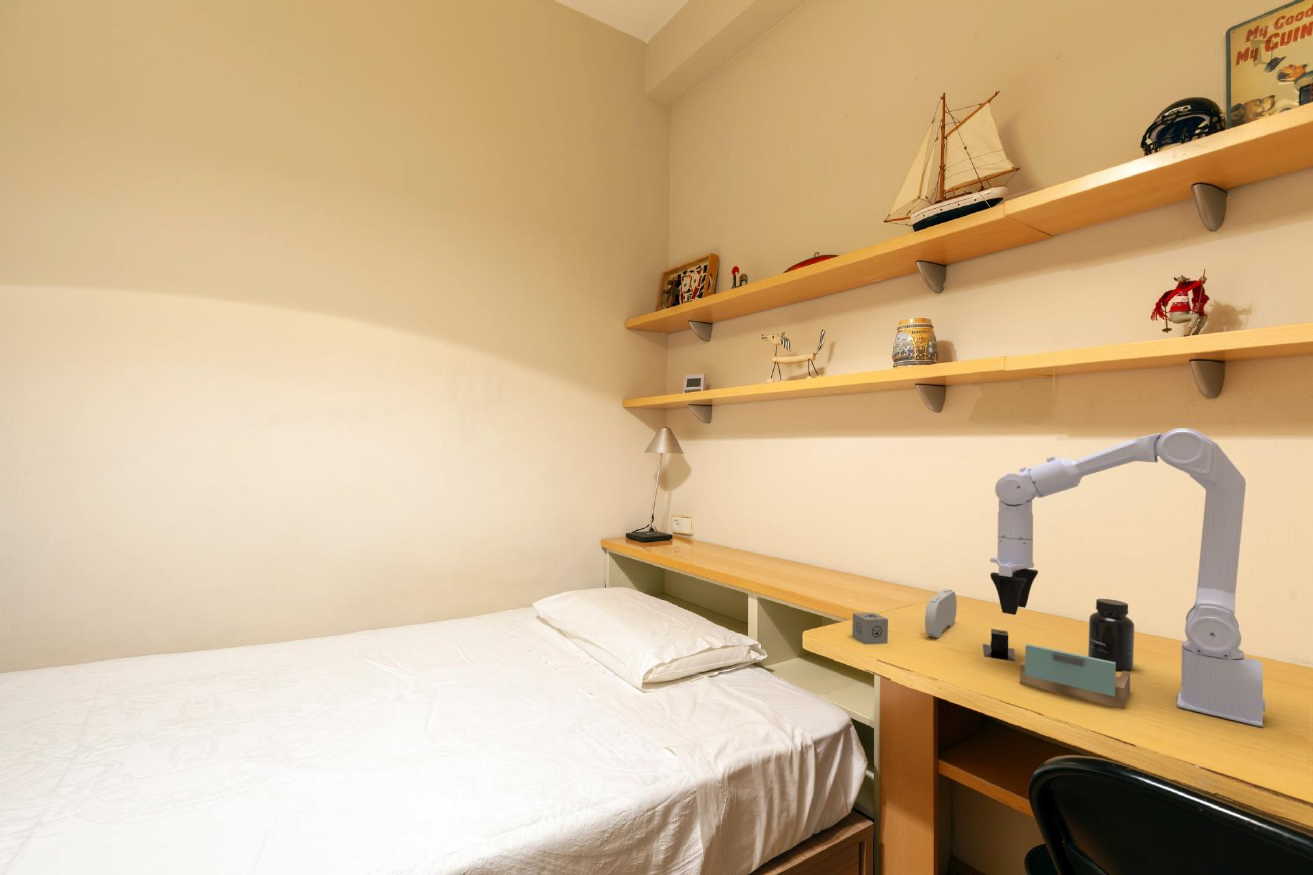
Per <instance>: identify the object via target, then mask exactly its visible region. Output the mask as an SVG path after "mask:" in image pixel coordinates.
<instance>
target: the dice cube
mask: <svg viewBox="0 0 1313 875" xmlns="http://www.w3.org/2000/svg"><path fill="white" fill-rule="evenodd" d="M888 626H889V619H888V618H886V617H884V616H882V615H881V614H878V613H876V612H853V613H852V626H851V627H852V632H851V633H852V635H851V637H852V638H854V639H856V640H857V641H859V642H860V643H862V644H864V645H880V644H881V645H883V644H888V643H889V642H888V640H889V638H888V637H889V635H888V634H889V627H888Z"/></svg>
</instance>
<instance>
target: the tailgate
mask: <svg viewBox="0 0 1313 875" xmlns="http://www.w3.org/2000/svg"><path fill="white" fill-rule="evenodd" d="M1024 654H1025V658H1024V660H1025V675H1027V676H1031V677H1035V678H1039V679H1043V680H1047V681H1052V682H1056V683H1060V684H1064V685H1068V686H1072V687H1077V688H1081V689H1085V690H1089V691H1093V692H1097V693H1102V694H1106V695H1110V696H1114V697H1115V677H1117V676H1116V671H1117V670H1116V662H1111V661H1106V660H1101V659H1097V658H1092V657H1088V656H1087V655H1082V654H1077V653H1072V652H1066V651H1061V650H1058V649H1053V648H1047V647H1044V646H1039V645H1035V644H1030V643H1029V644H1028V643H1027V644H1025V653H1024Z"/></svg>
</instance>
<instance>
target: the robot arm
mask: <svg viewBox="0 0 1313 875" xmlns="http://www.w3.org/2000/svg"><path fill="white" fill-rule="evenodd" d="M1158 457H1159V458H1160V459H1161V461H1163V462H1164V463H1165V464H1167V465H1168V466H1171V467H1172V468H1175V469H1177V470H1179V471H1181V472H1184V473H1186V474H1188V475H1189V477H1190V478H1191V479H1193V480H1194V481H1195V482H1197V484H1198V485H1200V486H1201V487H1203V489H1204V490H1205V498H1204V499H1205V500H1204V510H1203V518H1202V519H1203V520H1202V530H1201V539H1200V540H1201V541H1200V552H1199V562H1198V574H1197V582H1196V584H1197V585H1196V592H1195V593H1196V594H1195V602H1194V604H1193V606H1192V607H1191V608H1190V609H1189V610H1188V612H1187V614H1186V616H1185V621H1186V622H1185V626H1184V633H1185V637H1186V639H1187V640H1184V641H1182V642H1181V665H1180V666H1181V680H1180V681H1181V682H1180V683H1181V684H1180V686H1181V688H1180V690H1179V691H1178V695H1177V701H1176V702H1177V703H1176V706H1177V707H1178V708H1180V709H1184V710H1185V709H1186V710H1189V711H1193V712H1198V713H1201V714H1205V715H1210V716H1215V717H1219V718H1222V719H1227V720H1232V721H1235V722H1239V723H1244V724H1249V725H1253V726H1256V727H1264V723H1263V722H1264V716H1263V714H1264V712H1266V699H1265V698H1264V677H1263V676H1264V674H1263V671H1264V670H1263V661H1261V660H1258V659H1254V658H1250V657H1247V656H1245V652H1244V651H1243V650H1241V649H1240V646H1241V643H1242V634H1241V631H1240V625H1239V622H1238V619H1237V618H1236V616H1235V612H1236V592H1237V590H1236V589H1237V581H1238V570H1239V561H1240V560H1239V559H1240V558H1239V557H1240V550H1241V548H1240V546H1241V539H1242V538H1241V537H1242V528H1243V518H1244V508H1245V496H1246V485H1247V484H1246V483H1247V482H1246V479H1245V477H1244V475H1243V474H1242V473H1241V472H1240V470H1239V469H1238V468H1237V466H1235V464H1234V463H1233V461H1232V460H1230V458H1229V457H1228V456H1227V454H1226V453H1225V452H1224V451H1223V449H1222V448H1221V447H1220V446H1219V444H1218V443H1217V442H1216V441H1214V440H1212V439H1211V438H1209V437H1207V436H1206V435H1205V434H1203V433H1201V432H1200V431H1198V430H1195V429H1192V428H1188V427H1187V428H1185V427H1184V428H1183V427H1182V428H1178V427H1177V428H1175V429H1171V430H1169V431H1166V432H1165V433H1164V434H1163V433H1161V432H1159V433H1154V434H1150V435H1149V434H1148V435H1144V436H1140V437H1137V438H1133V439H1130V440H1127V441H1125V442H1122V443H1119V444H1116V445H1113V446H1110V447H1108V448H1105V449H1103V450H1102V449H1101V450H1100V451H1097V452H1095V453H1091V454H1089V455H1086V456H1083V457H1080V458H1078V459H1074V460H1073V459H1070V458H1067V457H1064V456H1061V457H1058V458H1057V457H1056V456H1050V457H1048V458H1046V459H1045V460H1046V462H1043V463H1040V464H1037V465H1034V466H1032V467H1028V468H1027V467H1026V466H1024V467H1021V468H1019V473H1014V472H1013V473H1012V472H1009V473H1006V474H1005V475H1004V476H1002V477H1000V478H999V479H998V480H997V482H996V483H995V487H994V490H995V491H994V492H995V496H997V499H998V512H997V557H991V558H990V560H989V561H990V562H991V563H995V564H996V565H997V566H998V572H995V571H993V572H990V579H991V581H992V582H993V584H994V586H995V589H996V593H997V596H998V600H999V604H1000V605H999V606H1000V608H1001V612H1002V613H1003V614H1006V615H1008V614H1009V615H1013V616H1016V615H1017V612H1018V610H1019V608H1024V609H1025V608H1026V607H1027V605H1028V601H1029V596H1030V592H1031V588H1032V586H1033V583H1034V581H1035V579H1036V577H1037V575H1038V574H1039V570H1037V569H1033V568H1034V567H1035V562H1033V561H1034V558H1033V556H1034V554H1033V553H1034V552H1033V551H1034V548H1033V547H1034V514H1033V500H1034V499H1035V498H1039V499H1041V498H1045V497H1047V496H1052V495H1054V494H1057V493H1061V492H1064V491H1067V490H1070V489H1071V490H1072V489H1073V488H1076V487H1079V485H1080V482H1081V481H1082V479H1083V478H1084V477H1086V476H1089V475H1092V474H1095V473H1099V472H1102V471H1106V470H1110V469H1112V468H1117V467H1119V466H1122V465H1126V464H1130V463H1134V462H1142V463H1143V462H1144V463H1158V462H1159V460H1158Z"/></svg>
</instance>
